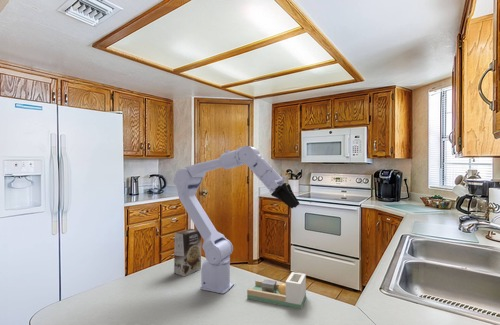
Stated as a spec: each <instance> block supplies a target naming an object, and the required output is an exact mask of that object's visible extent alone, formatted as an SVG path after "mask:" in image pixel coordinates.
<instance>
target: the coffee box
mask: <svg viewBox="0 0 500 325" xmlns="http://www.w3.org/2000/svg"><path fill="white" fill-rule="evenodd" d="M173 249H174V251H173V252H174V259H173V264H174V265H173V273H174V274H175V273H176V274H175V275H178V276H182V277H186V276H189V275H191V274H193V272H194V273H195V271H196V272H198V271H200V270H201V269H202V236H201V235H200V233H199V231H198V230H197V228H196V229H194V228H188V229H185V230H180V231H176V232H174V248H173ZM199 269H200V270H199ZM197 270H198V271H197Z"/></svg>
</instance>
